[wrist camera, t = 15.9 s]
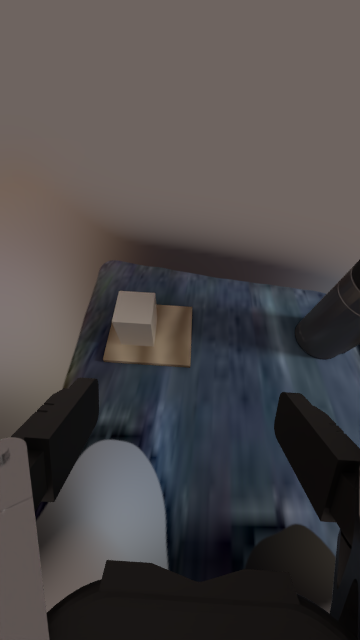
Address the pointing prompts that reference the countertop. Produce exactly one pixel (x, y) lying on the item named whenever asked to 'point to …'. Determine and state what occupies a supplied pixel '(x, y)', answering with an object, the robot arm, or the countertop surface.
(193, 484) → the countertop surface
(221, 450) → the countertop surface
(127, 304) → the light grey cuboid block
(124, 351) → the board
